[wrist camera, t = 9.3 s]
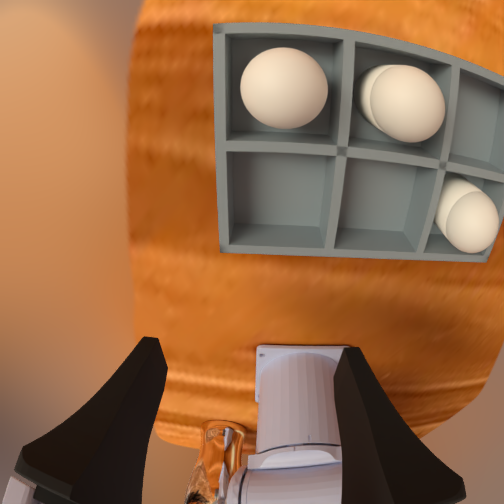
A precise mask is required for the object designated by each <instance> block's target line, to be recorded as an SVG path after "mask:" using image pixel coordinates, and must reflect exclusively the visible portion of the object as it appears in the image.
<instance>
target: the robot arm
mask: <svg viewBox="0 0 504 504" xmlns="http://www.w3.org/2000/svg"><path fill="white" fill-rule="evenodd" d="M167 370H168V367H167V364H166V361H165V358H164V355H163V352H162V349H161V346H160V342H159V339H158V338H153V337H145V336H144V337H143V338H142V339H141V340H140V342H139V343H138V344H137V345H136V347H135V348H134V350H133V351H132V352H131V353H130V355H129V356H128V357H127V358H126V359H125V361H124V362H123V363H122V364H121V366H120V367H119V368H118V369H117V370H116V372H115V373H114V374H113V375H112V377H111V378H110V379H109V380H108V381H107V382H106V383H105V384H104V385H103V386H102V387H101V389H100V390H99V391H98V392H97V393H96V394H95V395H94V396H93V397H92V398H91V399H90V400H89V401H88V402H87V403H86V404H85V405H83V406H82V407H81V408H80V409H79V410H78V411H77V412H75V413H74V414H73V415H72V416H70V417H69V418H68V419H67V420H65V421H64V422H63V423H61V424H60V425H58V426H57V427H56V428H54V429H53V430H51V431H50V432H48V433H47V434H45V435H43V436H42V437H40V438H38V439H36V440H34V441H33V442H31V443H29V444H27V445H25V446H23V448H22V450H21V452H20V455H19V458H18V460H17V463H16V466H15V469H14V470H15V472H16V473H18V474H20V475H21V476H23V477H24V478H26V479H28V480H30V481H31V482H33V483H35V484H36V485H37V487H36V489H34V488H32V487H31V486H29V485H27V484H25V483H24V482H22V481H20V480H18V479H17V478H15V477H13V476H11V477H10V480H9V483H8V486H7V489H6V493H5V496H4V499H3V502H2V504H142V487H143V476H144V468H145V461H146V454H147V447H148V443H149V438H150V434H151V431H152V428H153V424H154V421H155V418H156V415H157V411H158V408H159V405H160V402H161V398H162V395H163V392H164V387H165V382H166V376H167ZM255 401H256V402H259V408H258V424H257V440H256V454H255V455H249V456H248V465H244V466H241V467H240V468H239V469H238V470H237V472H236V473H235V474H234V475H233V476H232V478H231V480H230V483H229V486H228V491H227V504H455V503H457V502H460V501H462V500H464V499H465V498H466V491H465V485H464V482H463V478H462V477H460V476H459V475H458V474H456V473H455V472H454V471H453V470H451V469H450V468H449V467H448V466H446V465H445V464H444V463H443V462H442V461H441V460H440V459H438V458H437V457H436V456H435V455H434V454H433V453H432V452H431V451H430V450H429V449H428V448H427V447H426V446H425V445H424V444H423V443H422V442H421V441H420V439H419V438H418V437H417V436H416V435H415V434H414V432H413V431H412V430H411V429H410V428H409V426H408V425H407V424H406V423H405V421H404V420H403V419H402V417H401V416H400V415H399V413H398V412H397V410H396V409H395V407H394V406H393V405H392V403H391V402H390V400H389V398H388V397H387V395H386V394H385V392H384V390H383V389H382V387H381V386H380V384H379V382H378V381H377V379H376V377H375V375H374V373H373V372H372V370H371V368H370V366H369V364H368V363H367V361H366V359H365V357H364V355H363V353H362V351H361V349H360V348H359V347H349V346H284V345H259V346H258V347H257V356H256V390H255Z"/></svg>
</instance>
